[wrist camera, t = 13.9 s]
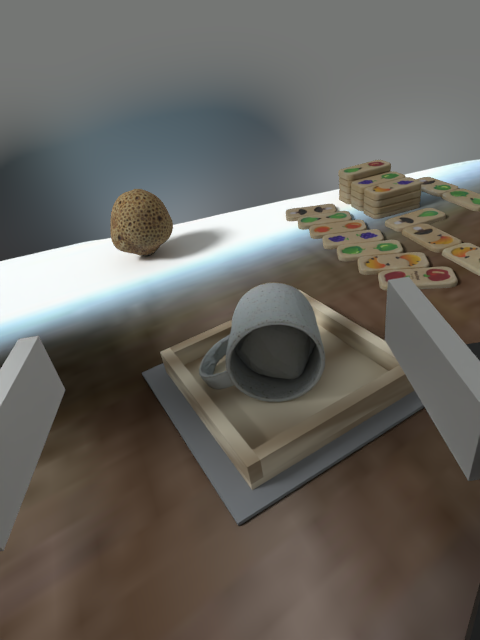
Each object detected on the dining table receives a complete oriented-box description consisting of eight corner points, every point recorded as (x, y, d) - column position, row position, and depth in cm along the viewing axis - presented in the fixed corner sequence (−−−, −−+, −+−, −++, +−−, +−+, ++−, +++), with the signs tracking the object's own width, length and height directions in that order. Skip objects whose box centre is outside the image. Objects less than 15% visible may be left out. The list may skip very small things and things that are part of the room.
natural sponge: (191, 244, 68) (176, 180, 63) (155, 270, 62) (136, 202, 57) (147, 240, 73) (130, 180, 67) (110, 264, 66) (88, 200, 61)
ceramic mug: (315, 337, 41) (308, 265, 37) (329, 398, 35) (322, 317, 30) (206, 352, 43) (188, 283, 38) (199, 413, 36) (175, 338, 32)
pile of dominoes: (278, 217, 74) (275, 184, 71) (418, 180, 78) (421, 148, 75) (402, 314, 45) (404, 266, 42) (611, 247, 50) (627, 200, 47)
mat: (142, 375, 42) (141, 372, 42) (307, 299, 49) (307, 297, 49) (238, 525, 28) (237, 523, 28) (453, 388, 35) (453, 385, 35)
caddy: (166, 371, 42) (159, 352, 40) (300, 309, 47) (299, 289, 46) (252, 490, 29) (247, 467, 28) (420, 386, 35) (422, 363, 34)
